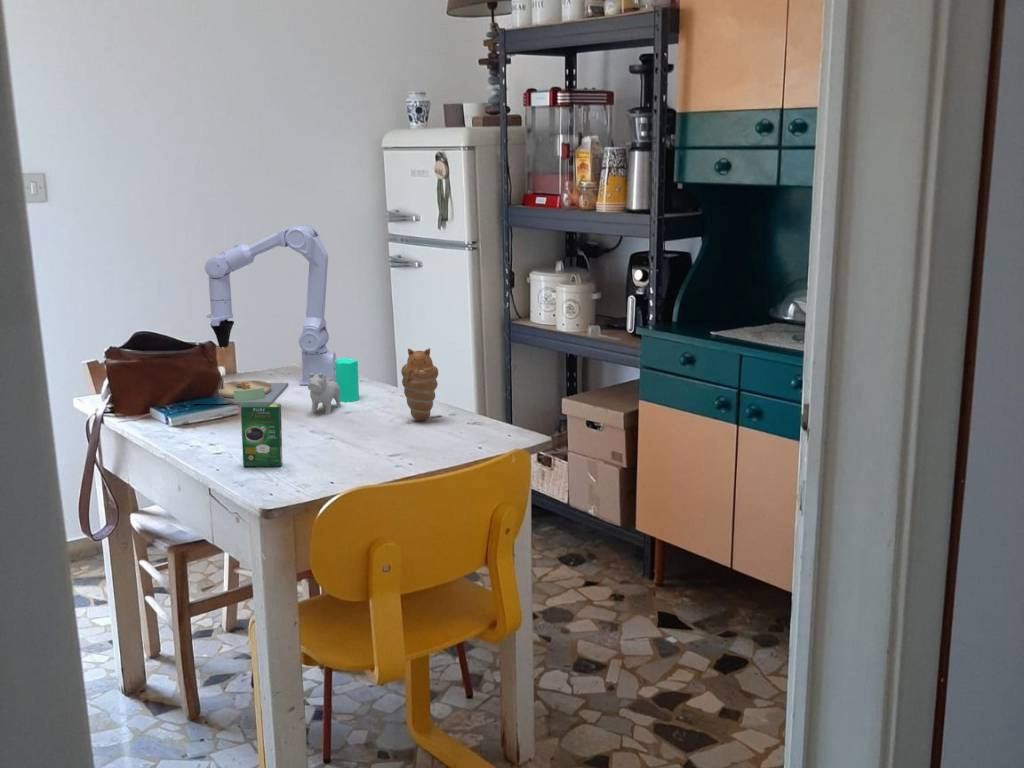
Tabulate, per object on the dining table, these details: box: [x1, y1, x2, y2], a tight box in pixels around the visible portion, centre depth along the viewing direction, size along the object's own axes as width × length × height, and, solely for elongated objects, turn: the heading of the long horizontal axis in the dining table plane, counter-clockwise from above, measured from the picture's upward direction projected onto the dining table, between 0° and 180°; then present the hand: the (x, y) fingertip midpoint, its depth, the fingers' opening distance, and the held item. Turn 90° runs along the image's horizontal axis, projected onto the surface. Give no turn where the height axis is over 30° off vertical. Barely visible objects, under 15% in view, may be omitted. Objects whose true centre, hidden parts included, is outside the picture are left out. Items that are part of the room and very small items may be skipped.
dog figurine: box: [307, 373, 341, 415], centre depth 247 cm, size 5×13×11 cm, turn 168°
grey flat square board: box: [224, 382, 289, 406], centre depth 264 cm, size 20×22×1 cm
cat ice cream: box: [400, 348, 439, 422], centre depth 237 cm, size 9×8×18 cm
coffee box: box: [240, 403, 283, 468], centre depth 203 cm, size 8×3×13 cm, turn 93°
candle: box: [335, 354, 360, 403], centre depth 259 cm, size 6×6×12 cm
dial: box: [219, 376, 271, 398], centre depth 263 cm, size 15×16×4 cm
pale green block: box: [234, 387, 265, 401], centre depth 256 cm, size 8×2×3 cm, turn 116°
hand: (223, 347), depth 279 cm, fingers closed
